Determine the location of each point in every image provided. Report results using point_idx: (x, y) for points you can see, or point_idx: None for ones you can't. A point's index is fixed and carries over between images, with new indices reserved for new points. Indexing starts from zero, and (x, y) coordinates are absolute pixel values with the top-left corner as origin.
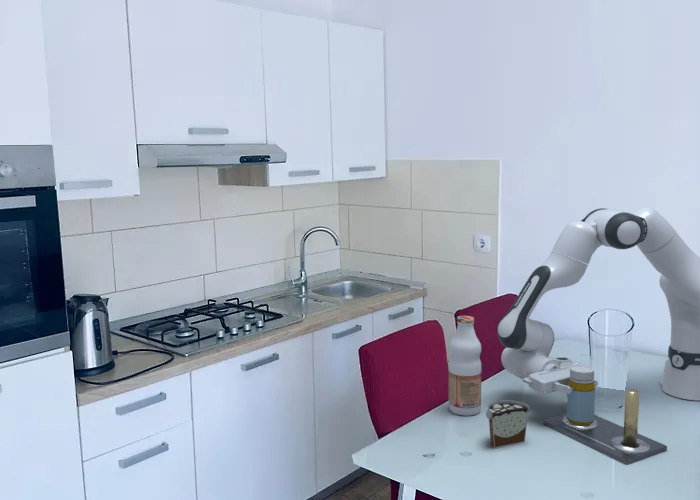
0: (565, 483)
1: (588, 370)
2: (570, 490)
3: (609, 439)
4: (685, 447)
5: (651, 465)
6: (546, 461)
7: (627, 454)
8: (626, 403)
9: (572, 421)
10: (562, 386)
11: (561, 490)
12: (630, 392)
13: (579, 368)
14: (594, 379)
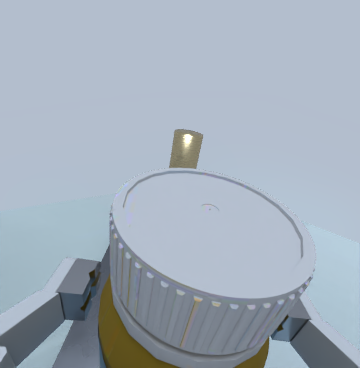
0: (322, 241)
1: (185, 184)
2: (319, 231)
3: None
4: (96, 202)
5: None
6: (343, 293)
7: None
8: (197, 161)
9: None
10: (335, 334)
11: (331, 236)
12: (199, 134)
13: (213, 226)
14: (55, 275)
